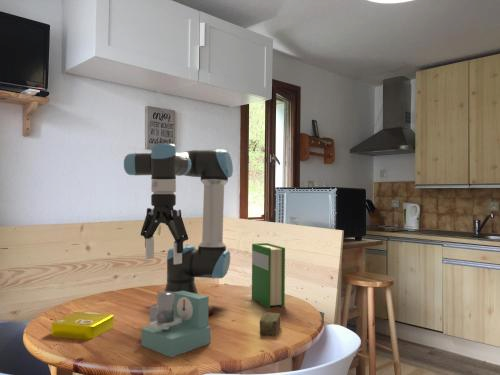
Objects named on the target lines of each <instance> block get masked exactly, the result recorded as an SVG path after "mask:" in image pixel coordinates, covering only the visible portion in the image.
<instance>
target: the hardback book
mask: <svg viewBox="0 0 500 375" xmlns="http://www.w3.org/2000/svg"><path fill="white" fill-rule="evenodd" d="M251 244H252V245H251V298H252V299H253V300H254V301H256V302H257V301H258V303H259V304H261V305H263V306H264V307H266V308H268V309H270V308H271V306H272V307H273V306H280V307H282V306H284V307H285V306H286V305H285V302H286V301H285V300H286V299H285V298H286V297H285V296H286V295H285V293H286V292H285V290H286V287H285V285H286V283H285V282H286V277H285V276H286V274H285V273H286V247H284V246H280V245H276V244H273V243H269V242H263V243H262V242H261V243H251Z"/></svg>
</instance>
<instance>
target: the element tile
mask: <svg viewBox="0 0 500 375" xmlns="http://www.w3.org/2000/svg"><path fill="white" fill-rule="evenodd" d="M114 318H115V316H114V314H113V313H105V312H104V313H100V312H90V311H89V312H86V311H75V312H74V313H71V314H69V315H66V316H64V317H61V318H60V319H58V320H55V321H53V322H51V324H50V336H51V335H52V336H51V337H53V336H55V337H54V338H63V339H64V338H65V339H74V340H75V339H76V340H93V339H95V338H96V337H98V336H100V335H102V334H104V333H105V332H107V331H109V330H110V329H112V328H114Z"/></svg>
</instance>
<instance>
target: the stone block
mask: <svg viewBox="0 0 500 375" xmlns="http://www.w3.org/2000/svg"><path fill="white" fill-rule="evenodd" d="M280 328H281V313H278V312H267V311H265V312H264V313H263V314H262V316H261V317H260V320H259V334H260V335H263V336H274V337H275V336H277V333H278V331H279V329H280Z"/></svg>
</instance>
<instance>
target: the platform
mask: <svg viewBox="0 0 500 375" xmlns="http://www.w3.org/2000/svg"><path fill="white" fill-rule="evenodd" d="M179 323H182V318H179V317H175V316H174V321H173V322H171V323H159V322H157V321H153V322H150V321H149V323H148V327H151V328H154V329H157V330H158V329H162V332H169V331H170V326H172V325H176V324H179Z"/></svg>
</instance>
